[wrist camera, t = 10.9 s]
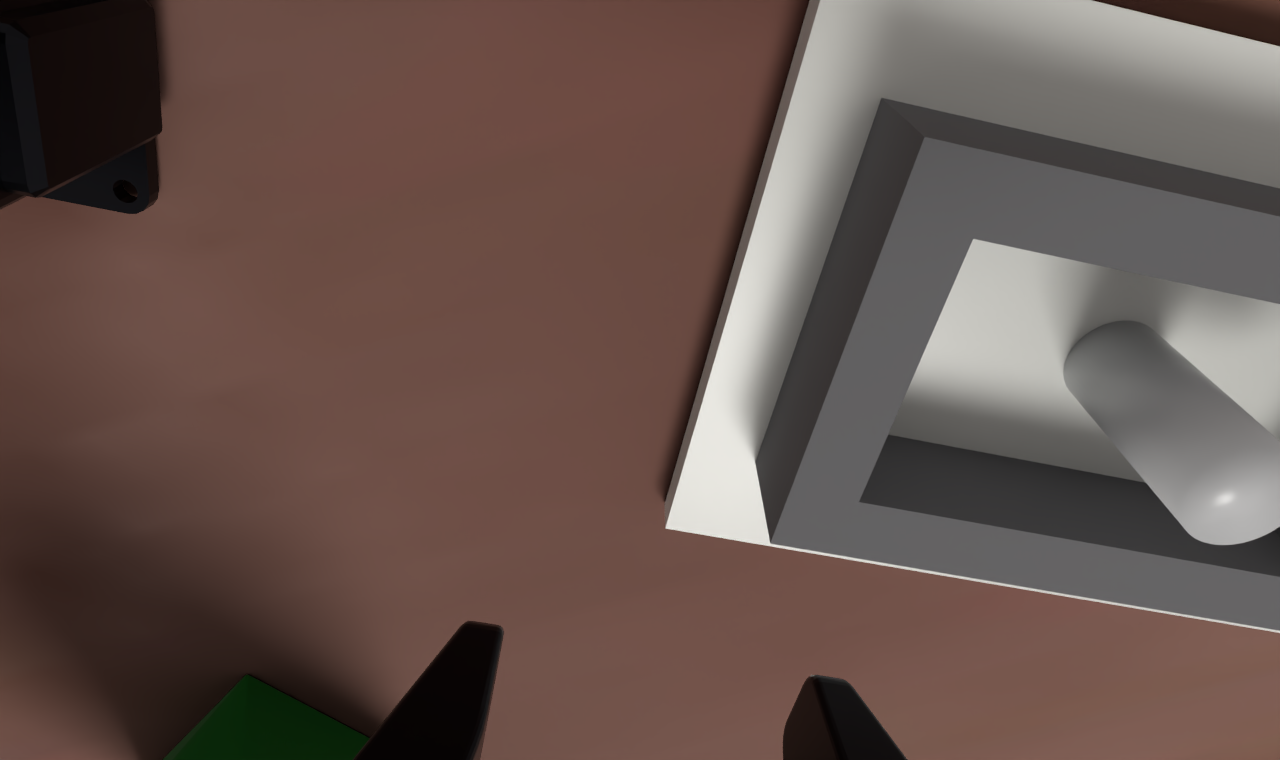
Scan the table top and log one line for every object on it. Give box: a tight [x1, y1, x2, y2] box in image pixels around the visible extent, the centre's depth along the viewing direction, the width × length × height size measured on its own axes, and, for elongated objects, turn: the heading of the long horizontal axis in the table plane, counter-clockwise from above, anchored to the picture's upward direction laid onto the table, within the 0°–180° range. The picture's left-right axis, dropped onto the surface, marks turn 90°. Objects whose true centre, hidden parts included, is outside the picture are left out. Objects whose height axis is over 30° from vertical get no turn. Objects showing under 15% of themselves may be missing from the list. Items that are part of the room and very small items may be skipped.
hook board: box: [665, 0, 1280, 633], centre depth 18 cm, size 18×14×6 cm
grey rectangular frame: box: [755, 98, 1280, 631], centre depth 18 cm, size 14×9×3 cm, turn 78°
